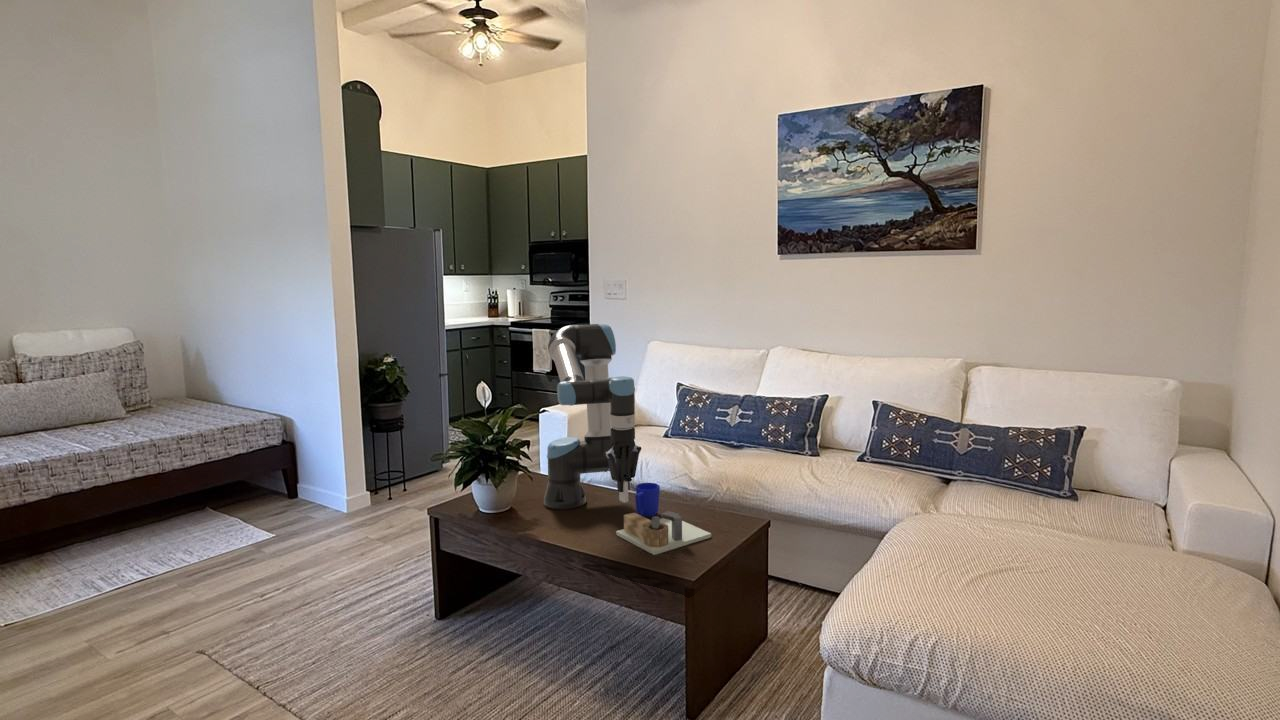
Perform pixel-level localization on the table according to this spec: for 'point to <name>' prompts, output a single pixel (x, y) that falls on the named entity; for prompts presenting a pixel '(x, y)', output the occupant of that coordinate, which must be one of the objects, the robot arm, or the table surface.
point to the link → (646, 530)
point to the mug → (647, 499)
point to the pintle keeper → (675, 524)
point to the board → (688, 537)
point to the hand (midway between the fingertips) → (623, 501)
